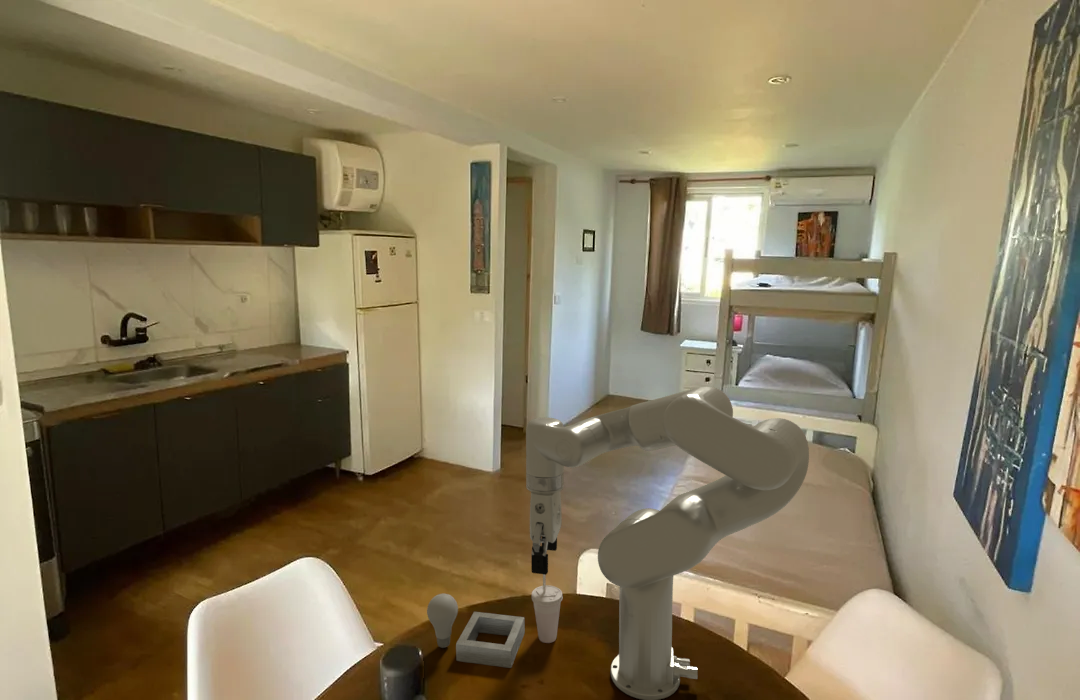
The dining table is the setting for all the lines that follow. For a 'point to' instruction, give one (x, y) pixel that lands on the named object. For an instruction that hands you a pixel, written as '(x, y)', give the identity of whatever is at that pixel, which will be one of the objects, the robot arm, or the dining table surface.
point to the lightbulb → (442, 617)
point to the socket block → (490, 651)
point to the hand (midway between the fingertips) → (544, 560)
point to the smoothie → (547, 610)
